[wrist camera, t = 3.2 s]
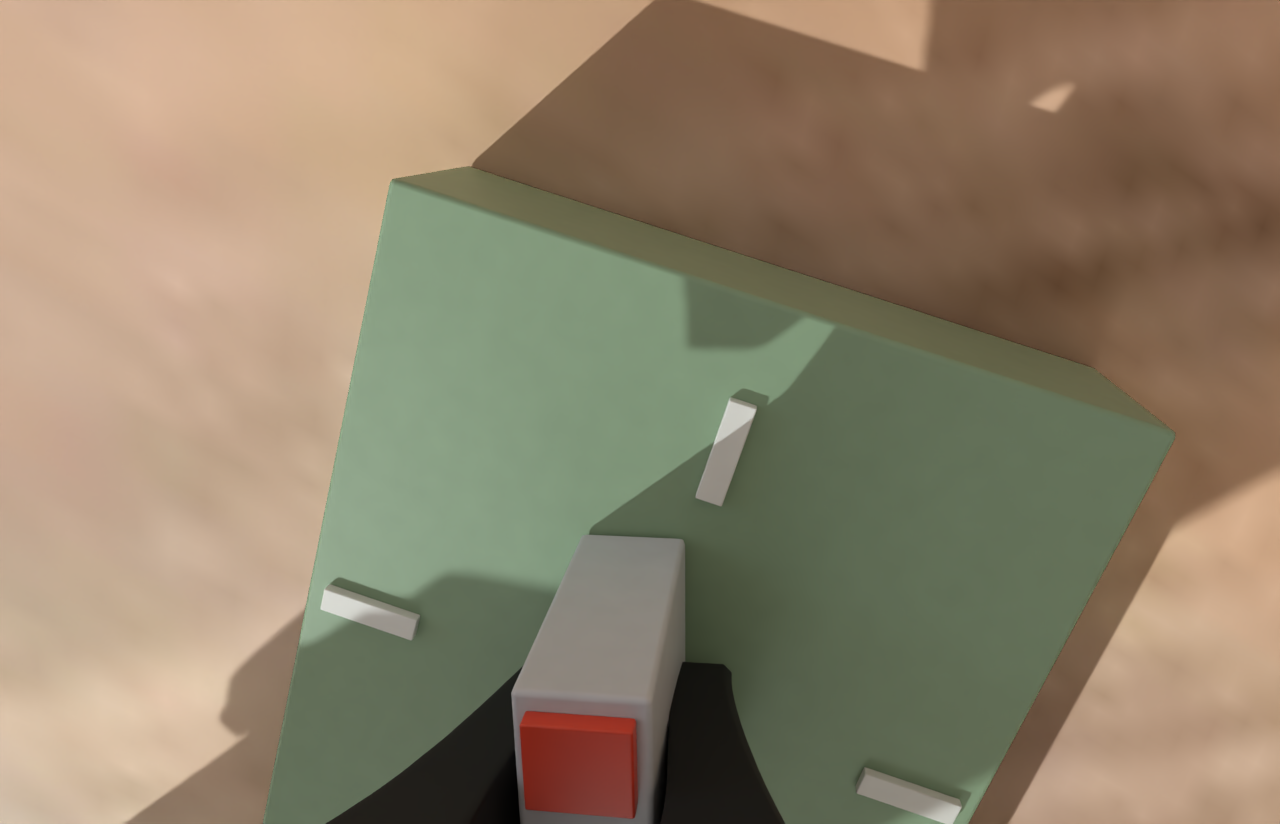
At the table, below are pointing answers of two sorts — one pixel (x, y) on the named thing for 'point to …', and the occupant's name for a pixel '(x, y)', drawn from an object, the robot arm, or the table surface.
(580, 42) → the table surface
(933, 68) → the table surface
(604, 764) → the tap handle
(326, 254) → the table surface
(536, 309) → the plate
